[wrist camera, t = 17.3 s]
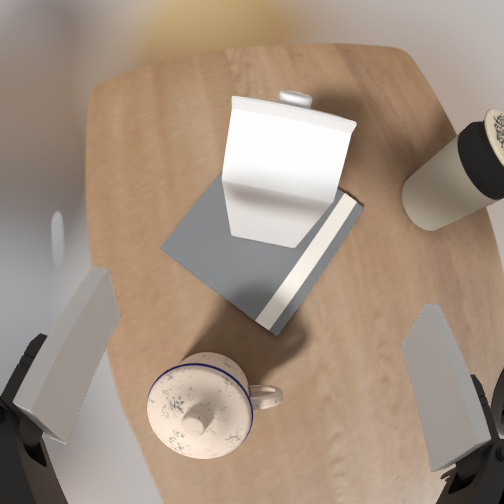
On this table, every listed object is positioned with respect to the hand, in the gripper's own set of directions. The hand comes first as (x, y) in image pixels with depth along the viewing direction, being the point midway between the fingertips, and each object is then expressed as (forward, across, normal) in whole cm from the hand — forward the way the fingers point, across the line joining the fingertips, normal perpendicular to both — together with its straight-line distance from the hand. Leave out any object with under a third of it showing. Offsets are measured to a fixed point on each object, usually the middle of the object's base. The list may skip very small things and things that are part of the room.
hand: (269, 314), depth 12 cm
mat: (+21, 0, -8) cm, 23 cm away
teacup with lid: (+9, -2, -22) cm, 23 cm away
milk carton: (+22, 0, -7) cm, 23 cm away
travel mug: (+26, +21, -4) cm, 34 cm away
